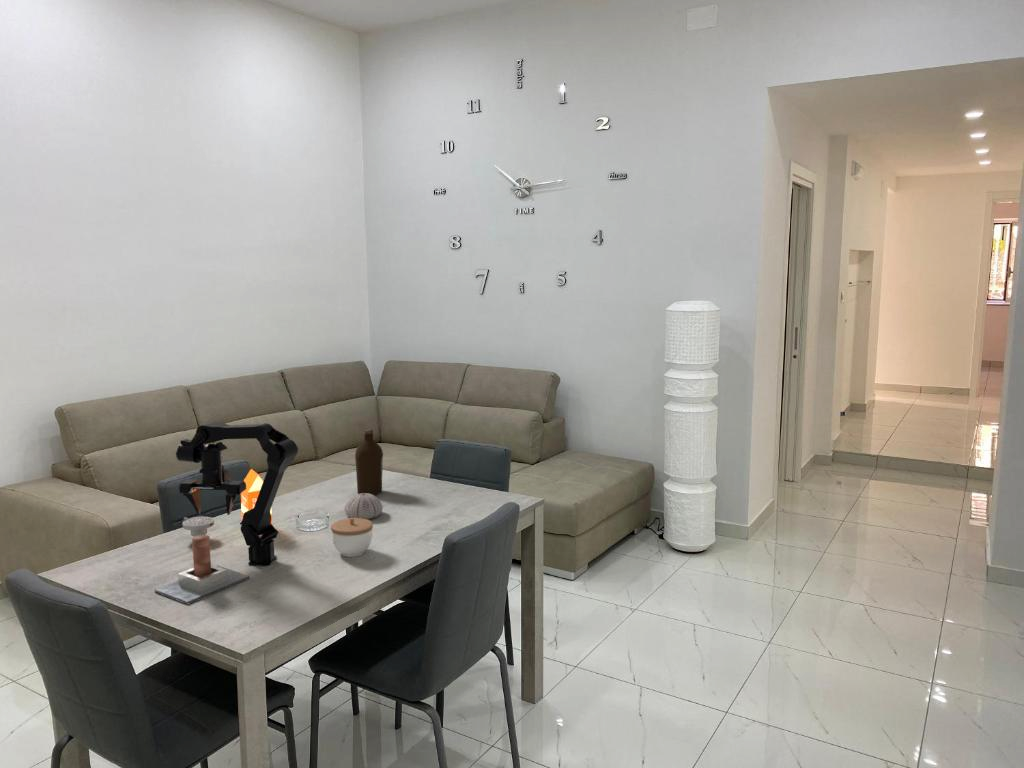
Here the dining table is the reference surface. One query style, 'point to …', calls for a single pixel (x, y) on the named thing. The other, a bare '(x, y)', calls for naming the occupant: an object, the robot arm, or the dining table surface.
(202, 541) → the peg
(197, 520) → the showerhead
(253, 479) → the orange juice
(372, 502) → the sea urchin shell
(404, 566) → the dining table surface
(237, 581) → the dock
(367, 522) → the lidded bowl
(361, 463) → the olive oil
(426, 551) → the dining table surface
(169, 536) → the dining table surface
